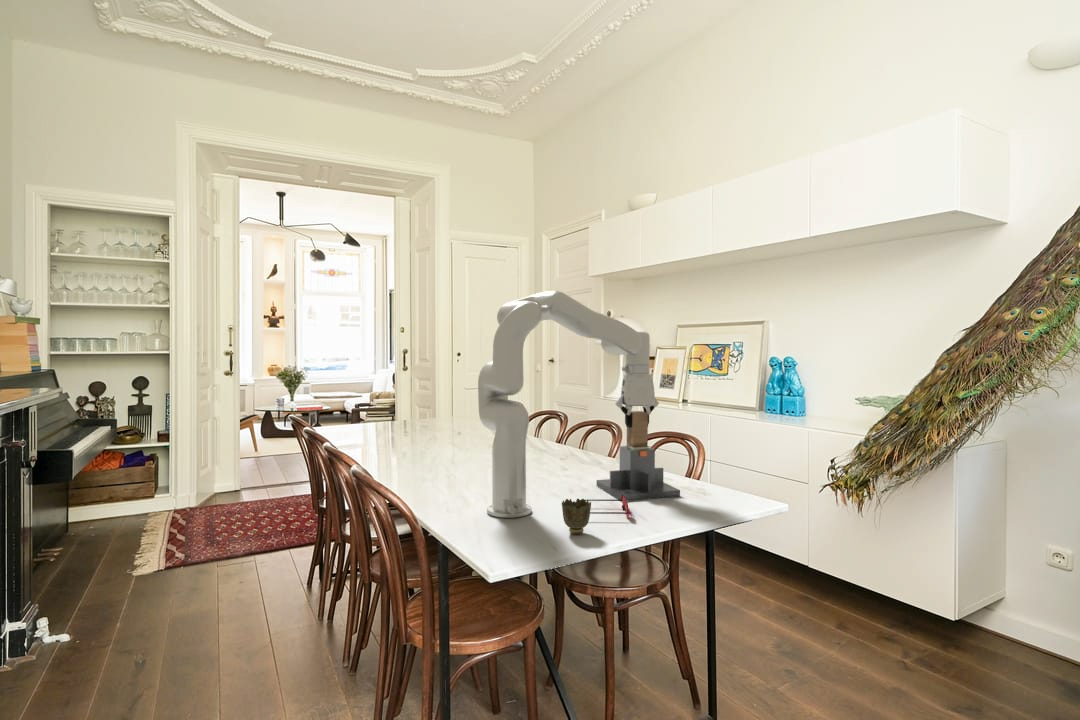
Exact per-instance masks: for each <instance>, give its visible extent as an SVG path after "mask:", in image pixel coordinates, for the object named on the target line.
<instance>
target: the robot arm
mask: <svg viewBox="0 0 1080 720" xmlns="http://www.w3.org/2000/svg"><path fill="white" fill-rule="evenodd" d="M496 314H497V315H496V319H497V324H499V325H498V327H497V329H496V331H495V334H494V336H493V337H494V338H493V342H492V343H493V344H492V361H489V362H487V363H486V364H484V366H482V368H481V370H480V371H479V374H478V377H477V378H478V380H477V394H478V396H477V397H478V399H477V400H478V414H479V415H478V416H479V419H480V421H481V424H482V425H483V426H484V427H485V428H486V429H488V430H491V431H492V432H493V431H494V432H495V434H494V436H493V441H492V448H491V449H492V452H491V457H492V458H491V459H492V460H491V463H492V465H491V467H492V470H491V472H492V473H491V474H492V475H491V476H492V477H491V478H492V479H491V481H492V483H491V484H492V486H491V487H492V494H491V495H492V496H491V497H492V498H491V499H492V504H490V505H488V506H487V508H486V512H487V514H488V515H490V516H492V517H496V518H504V519H507V518H510V519H511V518H513V519H514V518H520V517H525V516H528V515H529V514H531V513H532V507H531V505H529V504H528V503H527V437H528V430H529V425H530V415H529V412H528V409H527V408H526V407H525V406H524V405H523V404H521V403H520V402H519V401H515V400H511V399H509V396H515V395H518V394H519V393H520V392H521V391H522V389H523V387H524V380H525V378H524V345H525V341H526V339H527V337H528V335H529V334H530V333H531V332H532V331H533V330H534V329H535V328H536V327H537V326H538V325H539V324H540V323H541V321H547V320H548V321H549V320H550V321H551V320H552V321H554V322H556V323H557V324H559V325H561V326H563V327H564V328H566V329H567V330H569V331H571V332H573V333H575V334H576V335H579V336H581V337H584V338H587V339H595V340H599V341H600V345H601V349H602V350H603V351H604V352H605V353H607V354H609V355H613V356H615V355H617V356H618V355H619V356H621V355H623V356H625V365H624V366H622V367H621V371H623V372H624V373H625V374H623V378H622V382H621V390H620V392H621V393H620V397H619V398H618V399H617V401H616V402H615V406H616V407H617V408H618V409H620V411H622V413H623V414H624V424H625V427H626V428H627V427H629V428H631V427H632V415H631V411H633V409H632V408H633V407H642V411H643V412H647V413H648V425H649V424H650V415H651V413H652V412H653V411H654V409H655V408H657V406H658V405H659V403H660V402H659V401H658V400H657V399H656V397H655V396H656V395H655V386H654V384H655V383H654V379H653V378H654V377H653V375H652V374H650V351H651V350H650V348H651V347H650V345H651V344H650V340H651V339H650V334H649V333H648V332H646V331H636V330H635V329H634V328H633V327H631V326H629V325H627V324H626V323H624V322H623V321H621V320H620V321H619V320H618V319H615V318H613V317H611V316H607V315H605V314H602V313H600V312H598V311H595V310H592V309H591V308H589V307H587V306H585V305H584V304H582V303H581V302H579V301H578V300H576V299H574V298H573V297H572V296H570V295H567V294H566V293H564V292H562V291H560V290H548V291H542V292H539V293H536V294H532V295H529V296H526V297H523V298H520V299H516V300H512V301H510V302H506V303H505V304H503V305H502V306H500V308H499V309H498V311H497V313H496Z"/></svg>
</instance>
